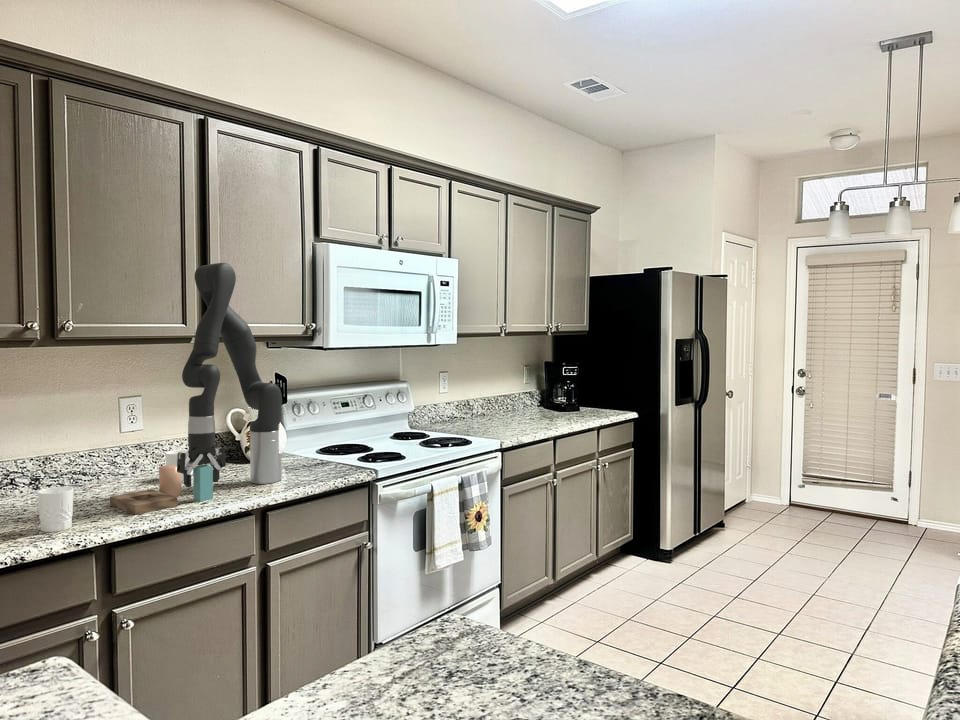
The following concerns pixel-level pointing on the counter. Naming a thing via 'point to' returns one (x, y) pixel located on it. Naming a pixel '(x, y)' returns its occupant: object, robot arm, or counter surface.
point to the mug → (172, 460)
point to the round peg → (170, 480)
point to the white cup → (55, 508)
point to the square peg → (203, 482)
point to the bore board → (143, 501)
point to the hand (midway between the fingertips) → (201, 484)
